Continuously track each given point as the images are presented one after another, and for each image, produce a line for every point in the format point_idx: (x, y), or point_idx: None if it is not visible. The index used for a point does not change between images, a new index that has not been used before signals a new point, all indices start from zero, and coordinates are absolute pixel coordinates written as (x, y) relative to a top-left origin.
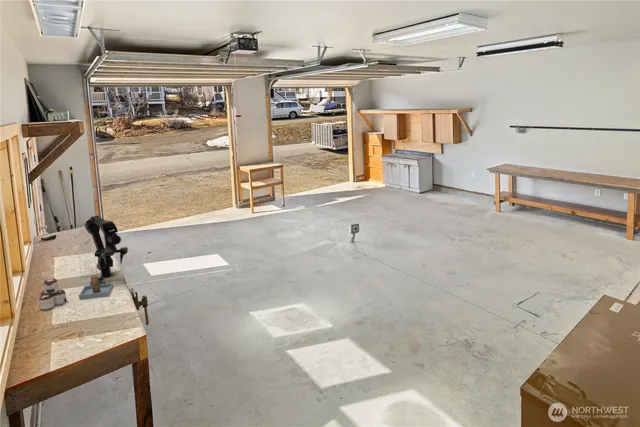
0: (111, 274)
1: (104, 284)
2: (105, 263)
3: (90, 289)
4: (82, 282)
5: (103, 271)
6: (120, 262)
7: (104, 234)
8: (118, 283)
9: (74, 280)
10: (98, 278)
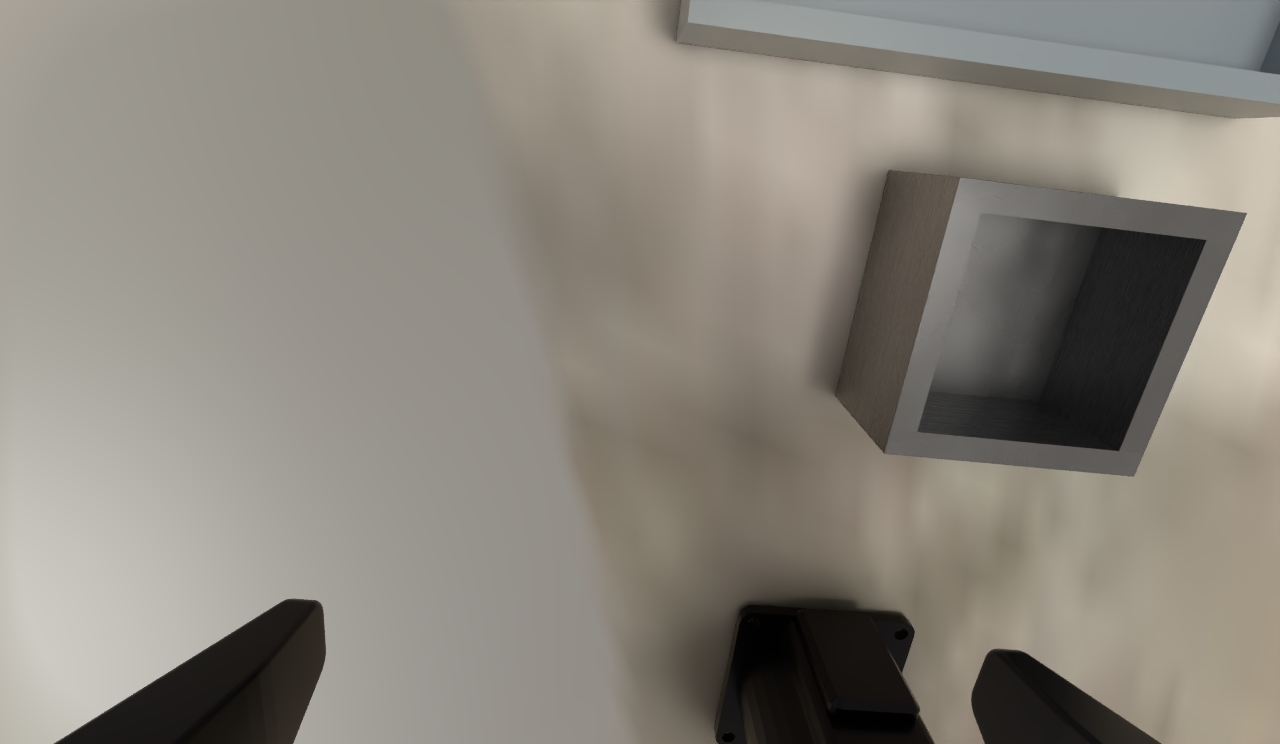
0: (729, 705)
1: (895, 23)
2: (1056, 732)
3: (1170, 50)
4: (1191, 566)
5: (894, 724)
6: (272, 645)
7: None
8: (582, 248)
9: (1276, 689)
10: (1009, 435)
